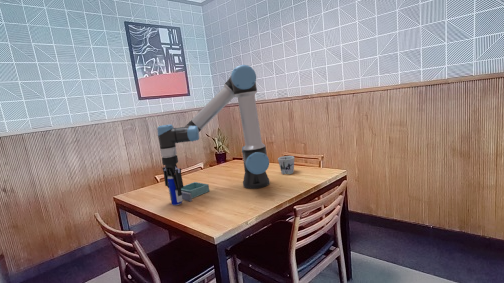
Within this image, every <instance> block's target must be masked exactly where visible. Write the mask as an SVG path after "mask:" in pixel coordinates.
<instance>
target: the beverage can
mask: <svg viewBox="0 0 504 283" xmlns="http://www.w3.org/2000/svg"><path fill="white" fill-rule="evenodd" d="M174 175H175V174H174ZM168 184H169V189H168V192H169V191H170V195H169V198H170V197H171V200H170V201H171V205H172V206H174V207H175V206H180V205H182V203H183V201H181V202H177V197H176V191H175V189H176V187H175V184H174V180H173V177H171V176H168Z"/></svg>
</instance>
